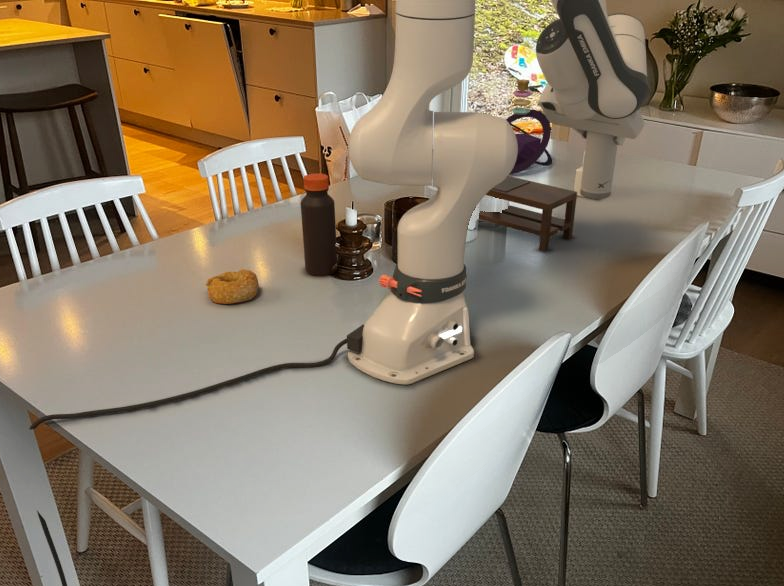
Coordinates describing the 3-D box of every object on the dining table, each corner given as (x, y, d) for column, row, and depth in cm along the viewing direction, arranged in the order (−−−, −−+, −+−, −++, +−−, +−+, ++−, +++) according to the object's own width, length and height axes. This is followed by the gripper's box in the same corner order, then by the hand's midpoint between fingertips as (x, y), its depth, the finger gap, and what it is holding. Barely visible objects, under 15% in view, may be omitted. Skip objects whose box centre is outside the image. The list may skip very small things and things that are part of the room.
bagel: (239, 279, 153) (236, 258, 151) (270, 296, 146) (268, 274, 144) (196, 294, 147) (192, 271, 145) (226, 312, 140) (223, 289, 138)
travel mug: (607, 201, 152) (621, 99, 142) (575, 196, 155) (587, 95, 145) (615, 193, 157) (629, 94, 147) (585, 188, 160) (597, 90, 150)
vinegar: (344, 270, 158) (340, 176, 148) (319, 279, 153) (313, 183, 143) (323, 261, 162) (317, 169, 152) (298, 270, 157) (291, 176, 147)
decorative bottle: (466, 165, 227) (469, 78, 215) (512, 153, 239) (518, 71, 227) (521, 181, 213) (528, 90, 200) (567, 168, 225) (577, 81, 212)
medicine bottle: (607, 193, 204) (613, 149, 198) (597, 200, 199) (603, 155, 193) (582, 188, 208) (587, 145, 202) (572, 195, 202) (577, 151, 196)
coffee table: (544, 252, 167) (549, 203, 162) (466, 229, 179) (468, 183, 174) (571, 237, 175) (577, 190, 169) (495, 216, 187) (497, 172, 182)
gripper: (639, 87, 134) (657, 134, 145) (546, 74, 146) (569, 118, 157) (623, 116, 133) (642, 161, 144) (530, 101, 146) (555, 143, 157)
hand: (603, 139), depth 151 cm, fingers closed on travel mug, 6 cm apart
